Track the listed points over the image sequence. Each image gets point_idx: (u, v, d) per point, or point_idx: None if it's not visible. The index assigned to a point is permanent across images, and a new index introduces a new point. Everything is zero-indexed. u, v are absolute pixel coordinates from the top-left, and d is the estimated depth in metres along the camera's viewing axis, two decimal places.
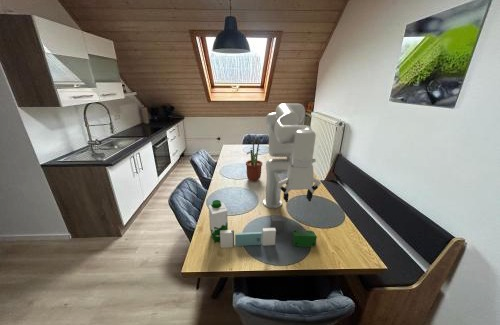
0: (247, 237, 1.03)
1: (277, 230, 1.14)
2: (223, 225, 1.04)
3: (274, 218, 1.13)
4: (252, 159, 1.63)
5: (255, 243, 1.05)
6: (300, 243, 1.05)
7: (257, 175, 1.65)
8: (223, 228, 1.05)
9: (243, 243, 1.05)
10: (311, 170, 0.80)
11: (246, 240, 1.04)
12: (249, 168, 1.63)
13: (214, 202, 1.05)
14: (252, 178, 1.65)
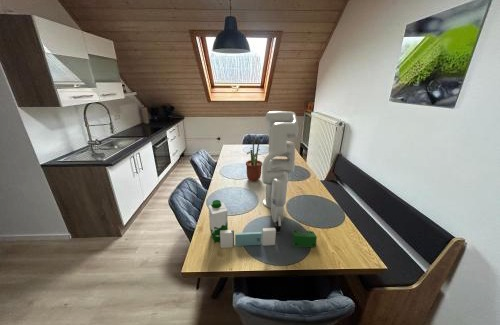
0: (247, 237, 1.03)
1: None
2: (223, 225, 1.04)
3: None
4: (252, 159, 1.63)
5: (255, 243, 1.05)
6: (300, 244, 1.05)
7: (257, 175, 1.65)
8: (223, 228, 1.05)
9: (243, 243, 1.05)
10: None
11: (246, 240, 1.04)
12: (249, 168, 1.63)
13: (214, 202, 1.05)
14: (252, 178, 1.65)
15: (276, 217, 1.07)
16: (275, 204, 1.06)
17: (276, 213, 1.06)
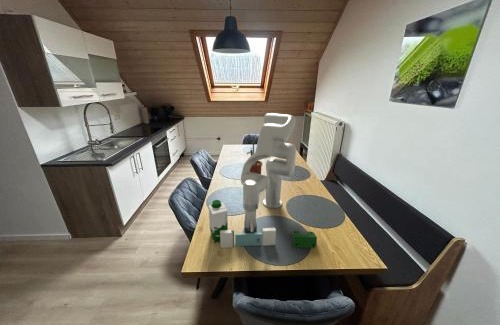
0: (247, 238, 1.03)
1: None
2: (223, 225, 1.04)
3: None
4: None
5: (255, 244, 1.05)
6: (300, 244, 1.04)
7: None
8: (223, 228, 1.05)
9: (243, 243, 1.04)
10: None
11: (246, 240, 1.04)
12: None
13: (214, 202, 1.05)
14: None
15: (248, 223, 1.01)
16: (246, 209, 1.00)
17: (248, 218, 1.00)
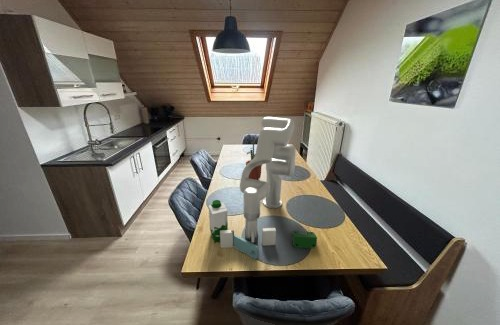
0: (244, 244, 0.99)
1: None
2: (223, 225, 1.04)
3: None
4: (252, 159, 1.63)
5: (250, 255, 0.98)
6: (300, 245, 1.04)
7: (257, 175, 1.65)
8: (223, 228, 1.05)
9: (240, 248, 1.01)
10: None
11: (243, 247, 1.00)
12: None
13: (214, 202, 1.05)
14: (252, 178, 1.65)
15: (249, 232, 0.95)
16: (247, 218, 0.94)
17: (248, 228, 0.95)
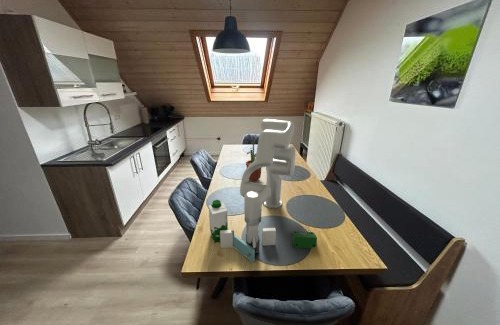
0: (242, 246, 0.98)
1: None
2: (223, 225, 1.04)
3: None
4: (252, 159, 1.63)
5: (248, 257, 0.97)
6: (300, 245, 1.04)
7: (257, 175, 1.65)
8: (223, 228, 1.05)
9: (239, 249, 1.01)
10: None
11: (241, 248, 0.99)
12: None
13: (214, 202, 1.05)
14: (252, 178, 1.65)
15: (250, 238, 0.93)
16: (248, 223, 0.92)
17: (250, 233, 0.92)
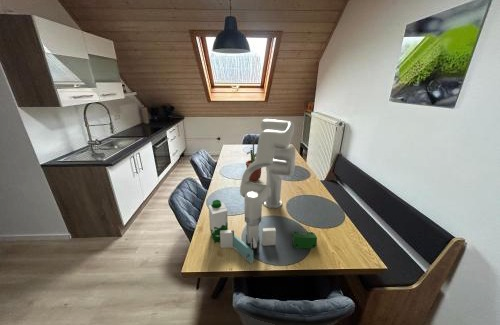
0: (241, 246, 0.98)
1: None
2: (223, 225, 1.04)
3: None
4: (252, 159, 1.63)
5: (246, 258, 0.97)
6: (300, 245, 1.04)
7: (257, 175, 1.65)
8: (223, 228, 1.05)
9: (238, 249, 1.01)
10: None
11: (240, 249, 0.99)
12: None
13: (214, 202, 1.05)
14: (252, 178, 1.65)
15: (250, 238, 0.93)
16: (248, 223, 0.92)
17: (250, 233, 0.92)
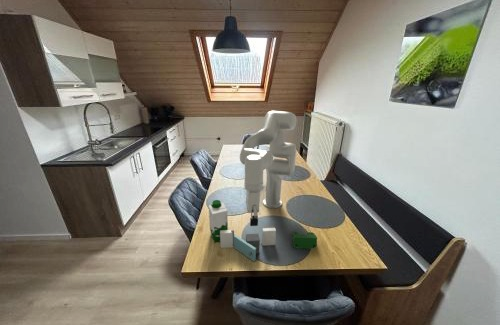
0: (243, 245, 0.98)
1: None
2: (223, 225, 1.04)
3: (249, 237, 1.00)
4: None
5: (249, 256, 0.98)
6: (300, 245, 1.04)
7: None
8: (223, 228, 1.05)
9: (239, 249, 1.01)
10: None
11: (242, 248, 0.99)
12: None
13: (214, 202, 1.05)
14: None
15: (250, 206, 0.85)
16: (249, 190, 0.85)
17: (250, 201, 0.85)
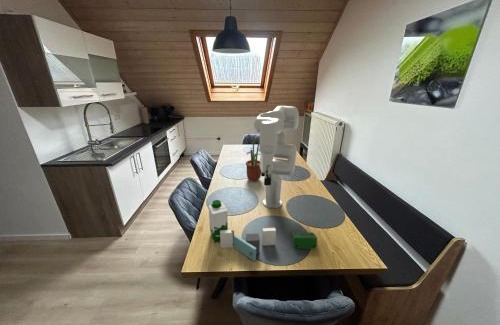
0: (243, 245, 0.98)
1: None
2: (223, 225, 1.04)
3: (250, 237, 1.00)
4: (252, 159, 1.63)
5: (249, 256, 0.98)
6: (300, 245, 1.04)
7: (257, 175, 1.65)
8: (223, 228, 1.05)
9: (239, 249, 1.01)
10: None
11: (242, 248, 0.99)
12: (249, 168, 1.63)
13: (214, 202, 1.05)
14: (252, 178, 1.65)
15: (265, 166, 0.97)
16: (263, 151, 0.96)
17: (265, 161, 0.96)
